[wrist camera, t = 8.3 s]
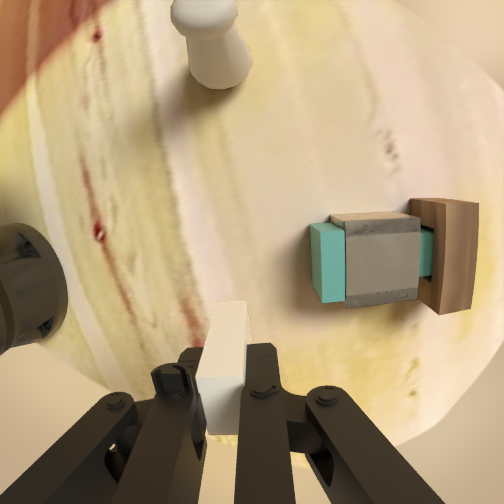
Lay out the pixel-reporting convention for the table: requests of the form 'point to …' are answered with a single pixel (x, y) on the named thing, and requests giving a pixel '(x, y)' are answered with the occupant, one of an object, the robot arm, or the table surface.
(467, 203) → the socket block
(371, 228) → the sleeve
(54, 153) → the table surface
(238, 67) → the salt shaker
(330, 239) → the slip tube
